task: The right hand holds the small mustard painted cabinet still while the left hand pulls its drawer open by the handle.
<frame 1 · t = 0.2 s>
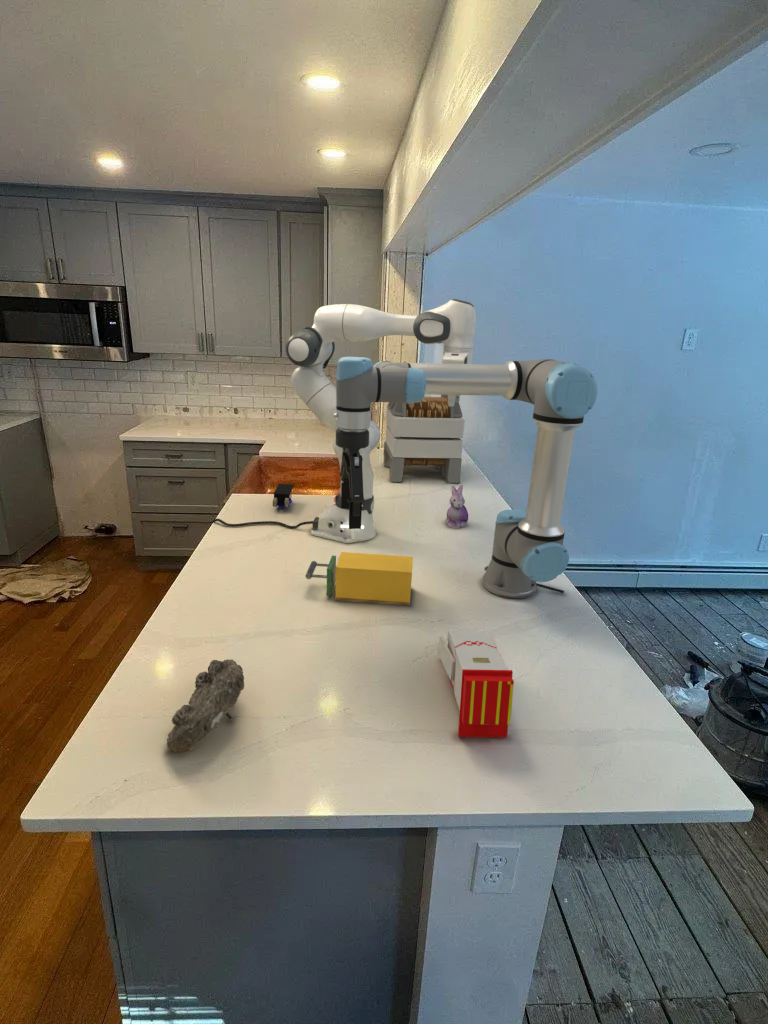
left hand: (453, 403, 174), 48 cm above the counter, tool pointing down, fingers open, 8 cm apart
right hand: (350, 517, 134), 28 cm above the counter, tool pointing down, fingers open, 13 cm apart
drawer: (352, 576, 156), point 5 cm above the counter, slide at 1.3 cm
figurine: (456, 524, 211), on the counter
figurine character: (283, 506, 221), on the counter
cabinet: (374, 594, 157), on the counter
fossil: (212, 717, 108), on the counter
transformer: (419, 473, 275), on the counter
toy: (469, 691, 119), on the counter
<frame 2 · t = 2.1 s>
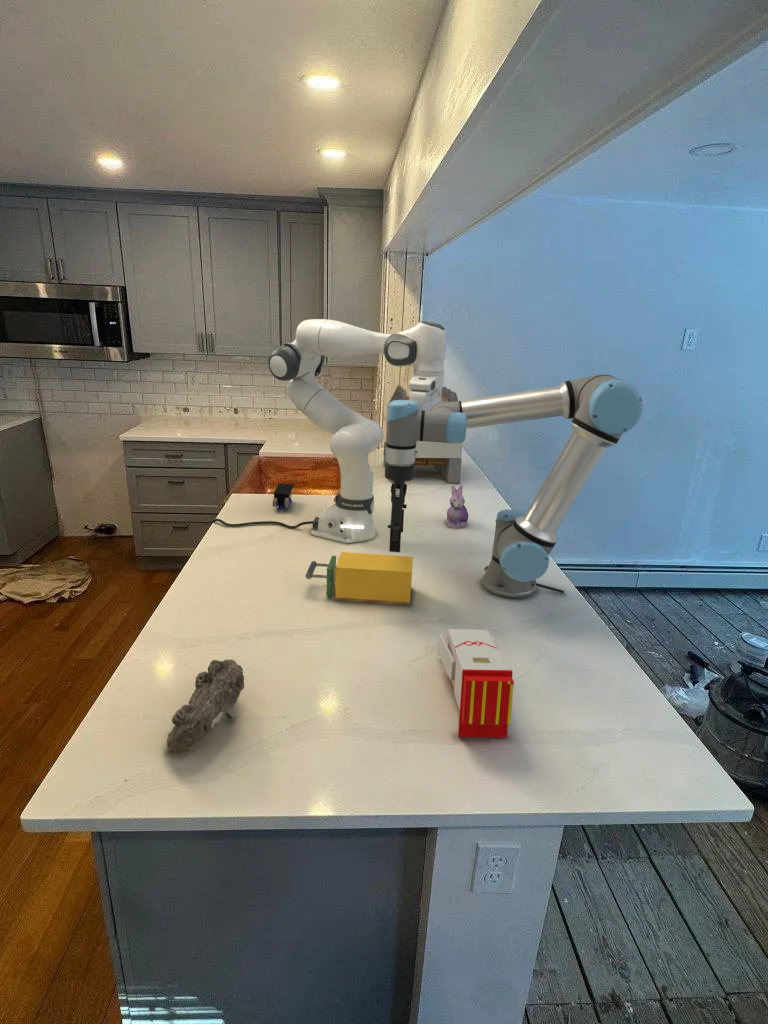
left hand: (424, 428, 169), 42 cm above the counter, tool pointing down, fingers open, 8 cm apart
right hand: (396, 541, 149), 17 cm above the counter, tool pointing down, fingers open, 13 cm apart
nothing on the counter moved.
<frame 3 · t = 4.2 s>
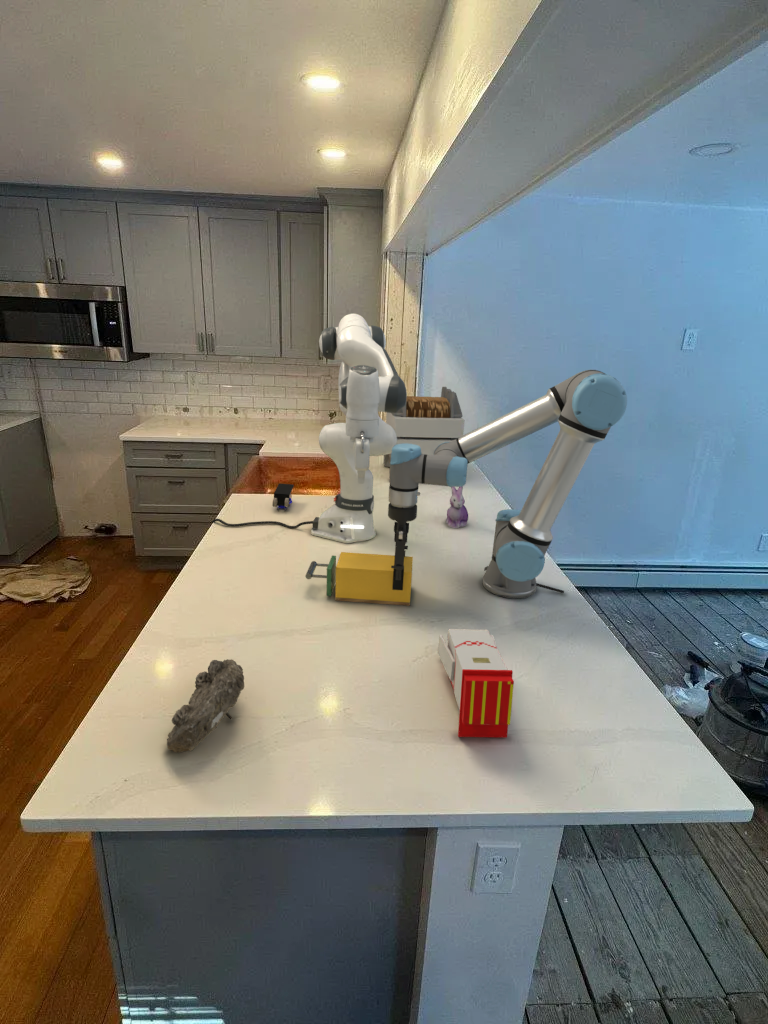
left hand: (360, 478, 156), 30 cm above the counter, tool pointing down, fingers open, 8 cm apart
right hand: (398, 580, 155), 5 cm above the counter, tool pointing down, fingers closed on cabinet, 10 cm apart
cabinet: (374, 594, 157), on the counter, touching right hand
everything else where it was.
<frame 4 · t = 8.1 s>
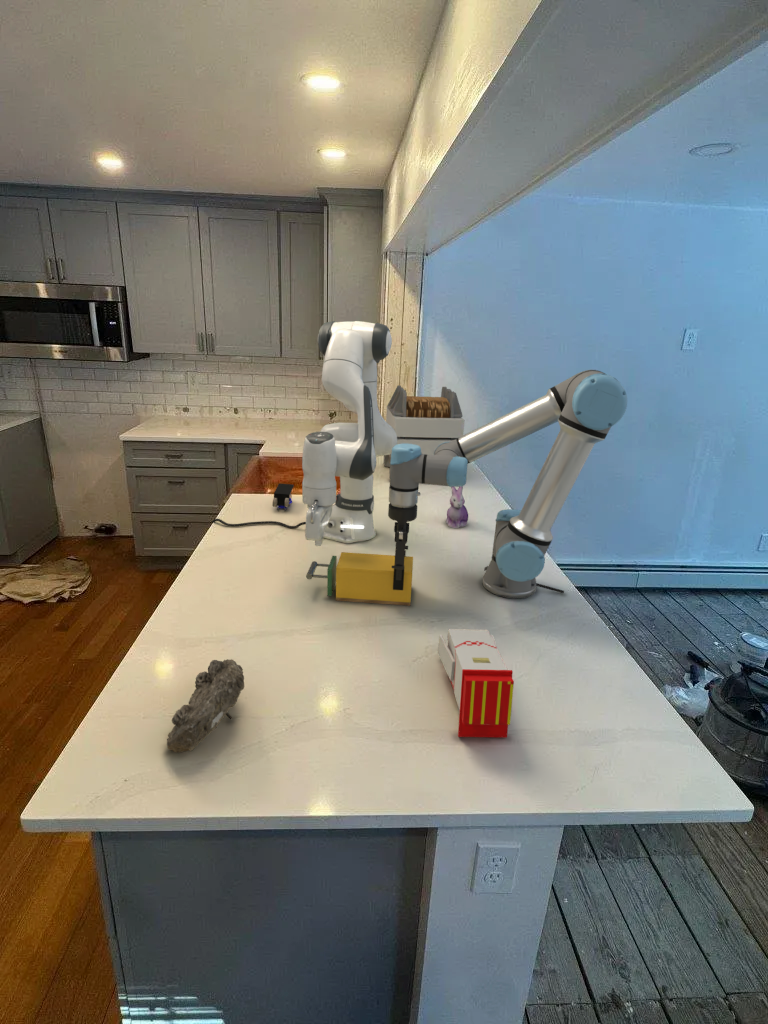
left hand: (319, 544, 153), 14 cm above the counter, tool pointing down, fingers closed
right hand: (398, 580, 155), 5 cm above the counter, tool pointing down, fingers closed on cabinet, 10 cm apart
cabinet: (374, 594, 157), on the counter, touching right hand
everything else where it was.
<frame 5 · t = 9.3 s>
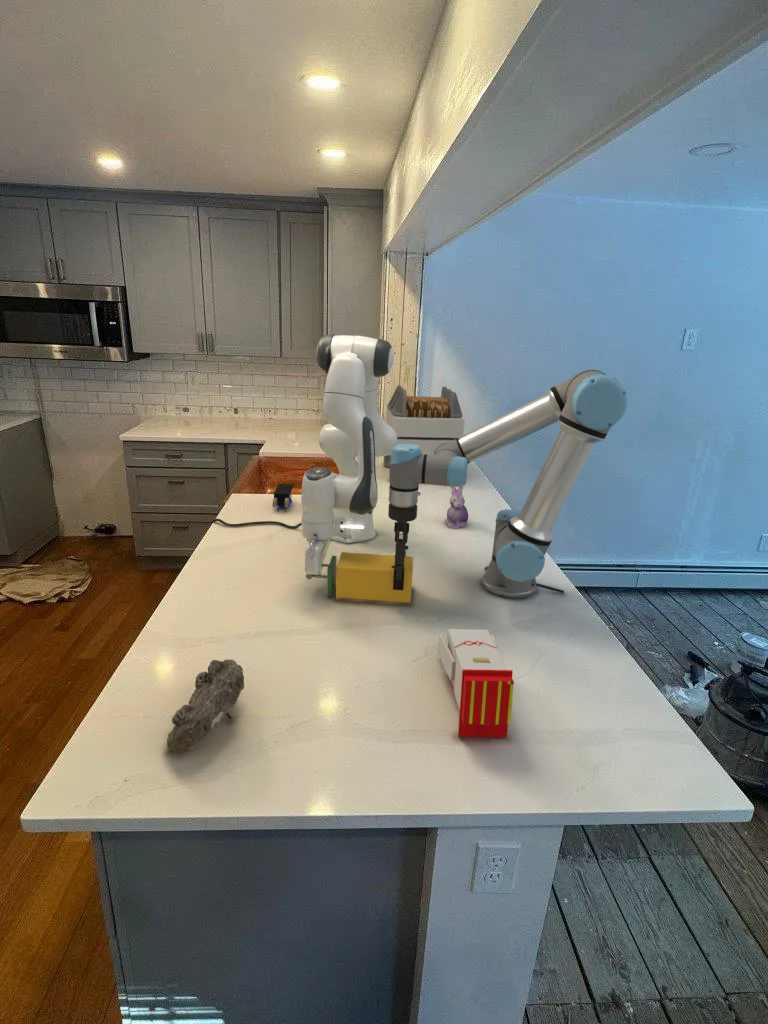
left hand: (318, 575, 156), 5 cm above the counter, tool pointing down, fingers closed, pressing on drawer
right hand: (399, 580, 155), 5 cm above the counter, tool pointing down, fingers closed on cabinet, 10 cm apart
drawer: (353, 576, 156), point 5 cm above the counter, slide at 1.3 cm, touching left hand
cabinet: (374, 594, 157), on the counter, touching right hand
everything else where it was.
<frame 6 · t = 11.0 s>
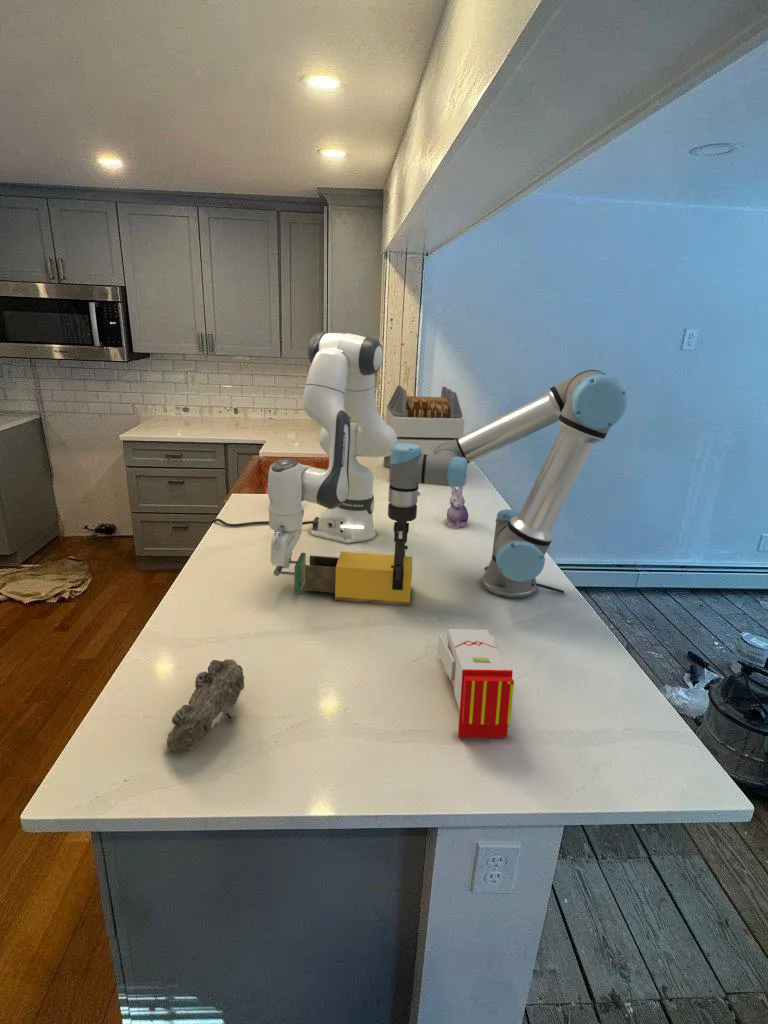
left hand: (287, 566, 157), 6 cm above the counter, tool pointing down, fingers closed
right hand: (398, 580, 155), 5 cm above the counter, tool pointing down, fingers closed on cabinet, 10 cm apart
drawer: (321, 573, 156), point 5 cm above the counter, slide at 9.9 cm, touching left hand
cabinet: (373, 593, 157), on the counter, touching right hand
everything else where it was.
when the right hand's fingers open (5 cm above the counter, at t = 12.3 s): cabinet stays where it is, on the counter.
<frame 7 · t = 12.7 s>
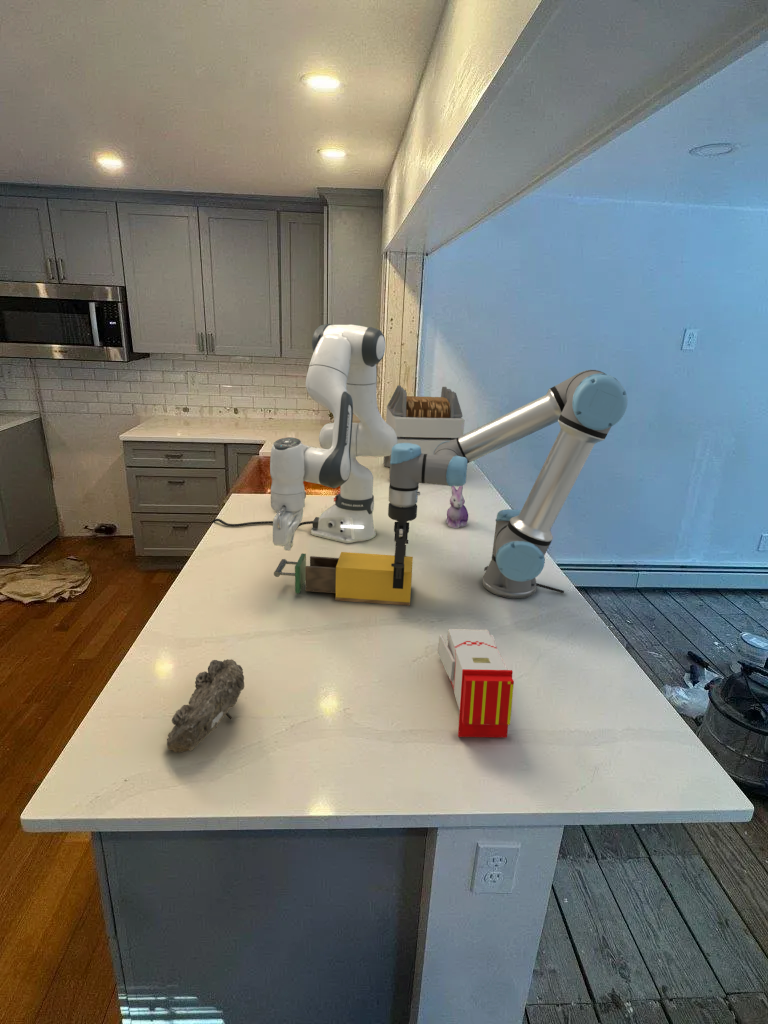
left hand: (288, 548, 154), 12 cm above the counter, tool pointing down, fingers closed
right hand: (399, 576, 155), 6 cm above the counter, tool pointing down, fingers open, 13 cm apart
drawer: (321, 574, 156), point 5 cm above the counter, slide at 9.9 cm
cabinet: (374, 594, 157), on the counter
everything else where it was.
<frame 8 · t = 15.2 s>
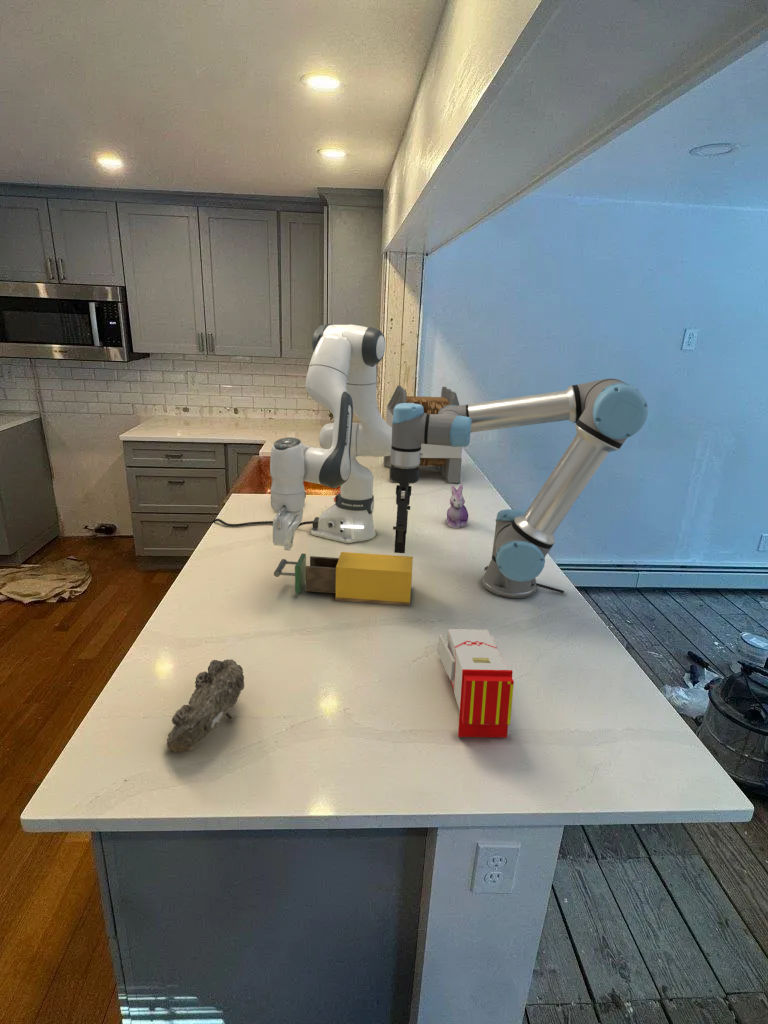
left hand: (288, 548, 154), 12 cm above the counter, tool pointing down, fingers closed
right hand: (400, 542, 151), 16 cm above the counter, tool pointing down, fingers open, 13 cm apart
nothing on the counter moved.
at the end: drawer slide at 9.9 cm; cabinet tilted 0°; cabinet never tilted more than 1° during the clip; cabinet moved 0.0 cm from its start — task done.
